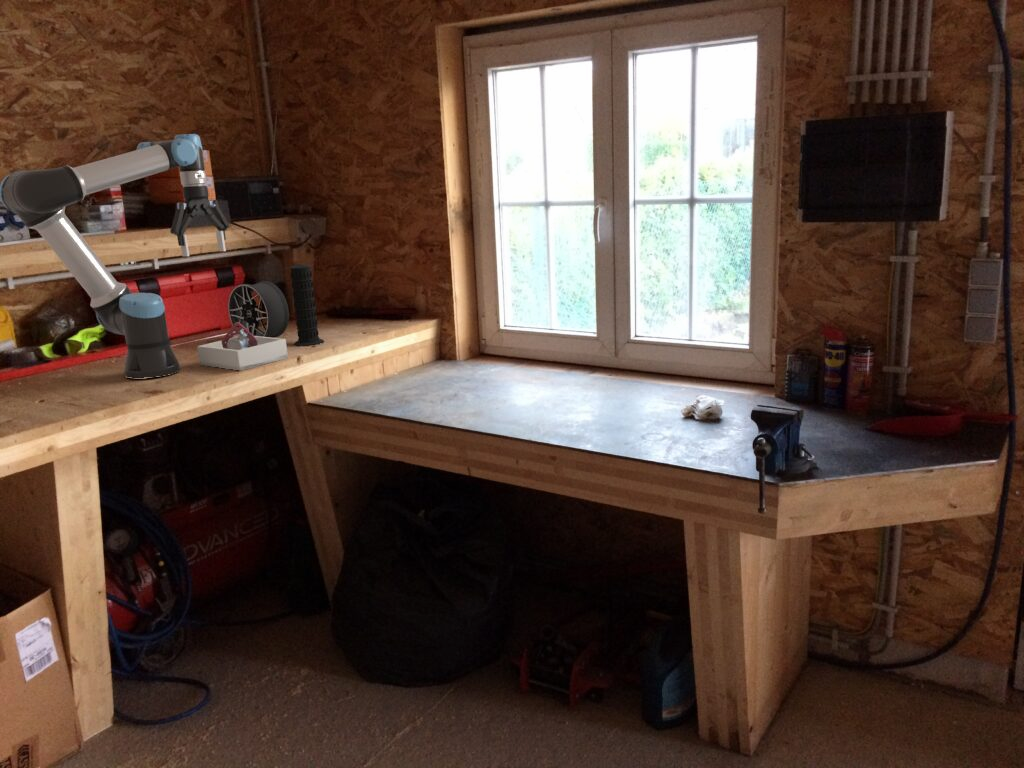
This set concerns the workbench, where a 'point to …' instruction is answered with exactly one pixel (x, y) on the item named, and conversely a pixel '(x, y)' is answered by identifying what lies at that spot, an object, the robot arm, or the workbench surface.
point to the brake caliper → (238, 338)
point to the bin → (243, 354)
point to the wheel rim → (259, 309)
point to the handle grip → (304, 305)
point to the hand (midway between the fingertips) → (204, 253)
